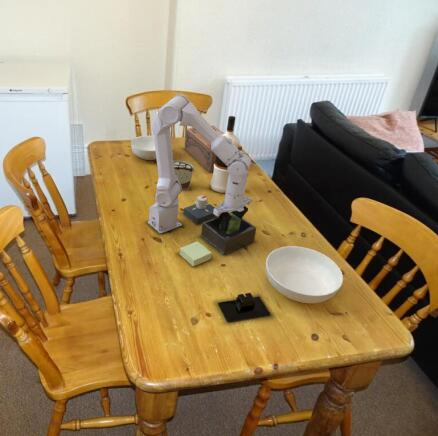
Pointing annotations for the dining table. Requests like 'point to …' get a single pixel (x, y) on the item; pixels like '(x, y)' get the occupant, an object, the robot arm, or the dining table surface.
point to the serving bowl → (303, 274)
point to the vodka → (220, 167)
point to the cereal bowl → (144, 147)
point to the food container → (183, 173)
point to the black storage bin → (225, 241)
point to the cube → (233, 224)
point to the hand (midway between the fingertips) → (229, 227)
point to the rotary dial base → (199, 213)
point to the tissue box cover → (201, 148)
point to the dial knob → (201, 202)
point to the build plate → (243, 308)
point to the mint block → (195, 253)
